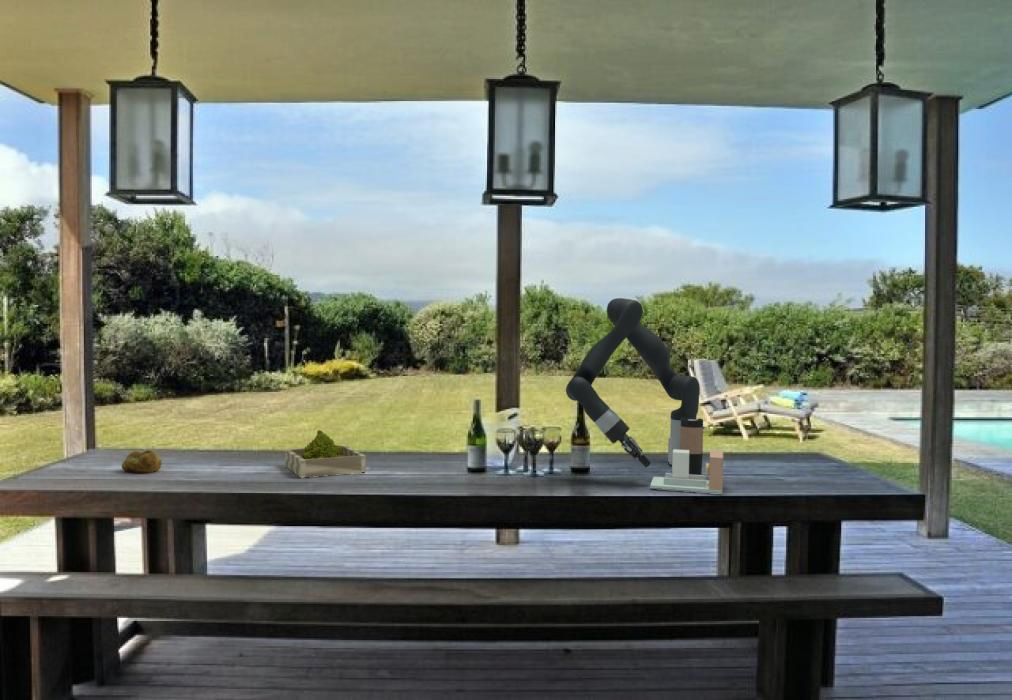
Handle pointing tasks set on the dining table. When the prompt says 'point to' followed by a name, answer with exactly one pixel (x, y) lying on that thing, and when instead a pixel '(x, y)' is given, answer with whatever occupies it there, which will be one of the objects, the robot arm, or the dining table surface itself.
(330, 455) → the vegetable
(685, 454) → the white rectangular block
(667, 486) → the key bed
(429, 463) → the dining table surface
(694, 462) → the travel mug
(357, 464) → the veg crate
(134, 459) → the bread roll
